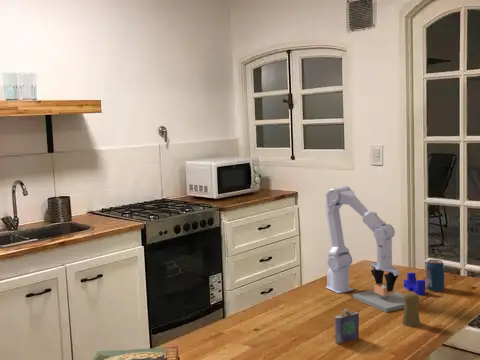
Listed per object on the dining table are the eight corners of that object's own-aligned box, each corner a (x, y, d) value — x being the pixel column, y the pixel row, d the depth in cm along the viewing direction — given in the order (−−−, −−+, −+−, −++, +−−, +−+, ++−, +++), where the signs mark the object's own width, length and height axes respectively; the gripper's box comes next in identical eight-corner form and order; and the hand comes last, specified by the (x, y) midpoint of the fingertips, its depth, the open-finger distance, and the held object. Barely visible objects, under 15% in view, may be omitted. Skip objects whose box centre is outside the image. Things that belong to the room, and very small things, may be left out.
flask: (338, 345, 181) (337, 313, 180) (332, 341, 183) (332, 310, 182) (360, 339, 185) (360, 307, 184) (355, 336, 188) (354, 305, 186)
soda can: (445, 288, 233) (445, 260, 232) (442, 292, 227) (442, 264, 226) (428, 285, 237) (428, 258, 236) (424, 290, 231) (424, 262, 230)
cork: (411, 328, 192) (410, 297, 191) (398, 322, 198) (398, 292, 196) (423, 324, 195) (423, 294, 194) (411, 319, 200) (411, 289, 199)
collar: (373, 292, 221) (373, 284, 221) (384, 289, 224) (384, 282, 223) (383, 295, 216) (383, 288, 216) (394, 293, 219) (394, 286, 218)
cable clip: (403, 286, 238) (403, 273, 237) (414, 286, 238) (414, 272, 237) (414, 295, 226) (414, 281, 225) (425, 295, 226) (425, 280, 225)
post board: (352, 297, 226) (352, 282, 225) (383, 290, 233) (383, 275, 232) (386, 312, 208) (386, 295, 207) (418, 304, 215) (418, 288, 214)
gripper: (364, 253, 223) (364, 286, 225) (389, 261, 210) (389, 295, 212) (378, 250, 226) (378, 283, 228) (403, 258, 213) (403, 292, 215)
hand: (384, 289), depth 220 cm, fingers closed on collar, 5 cm apart
